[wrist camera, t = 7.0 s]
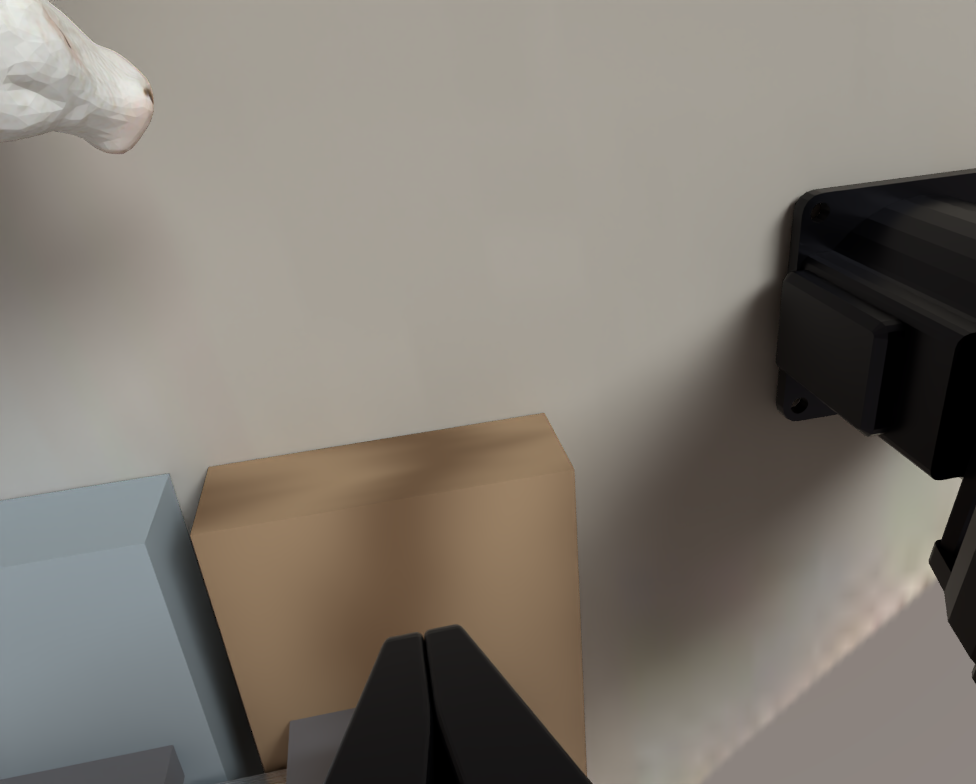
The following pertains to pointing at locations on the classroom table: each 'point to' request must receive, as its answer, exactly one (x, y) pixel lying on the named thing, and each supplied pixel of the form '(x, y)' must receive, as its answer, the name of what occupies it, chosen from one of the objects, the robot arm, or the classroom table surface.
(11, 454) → the classroom table surface
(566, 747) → the jamb
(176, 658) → the door panel
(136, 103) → the bull figurine
